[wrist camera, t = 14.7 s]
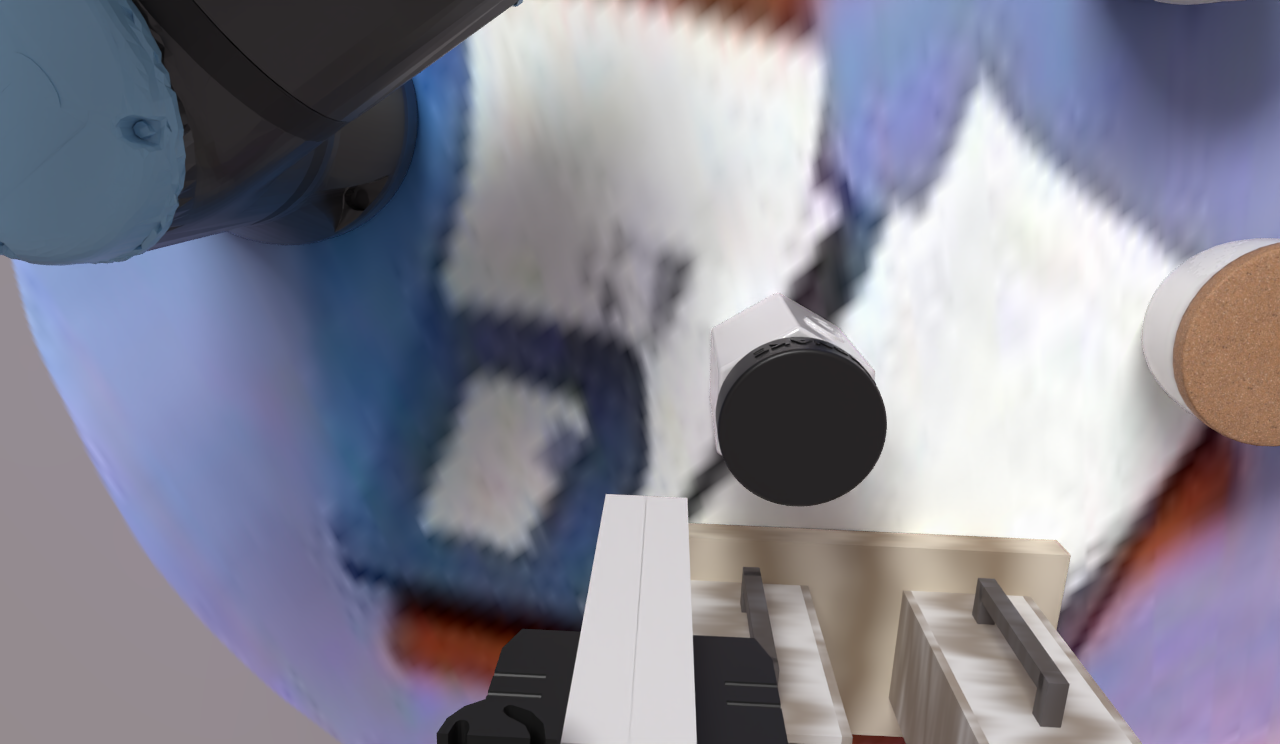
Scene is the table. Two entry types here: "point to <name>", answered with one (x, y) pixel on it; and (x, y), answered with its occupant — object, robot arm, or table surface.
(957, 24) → the table surface
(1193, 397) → the lidded jar
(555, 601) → the table surface
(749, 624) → the stand
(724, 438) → the jar
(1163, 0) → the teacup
